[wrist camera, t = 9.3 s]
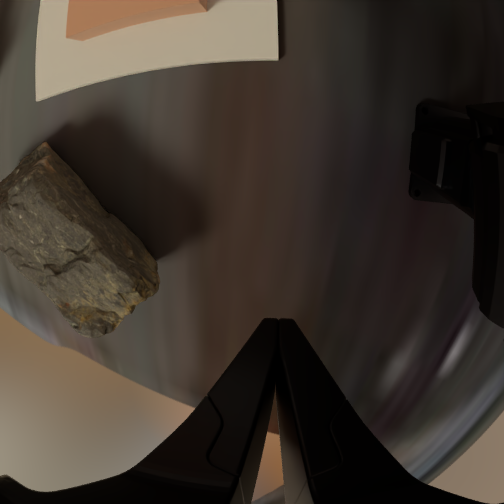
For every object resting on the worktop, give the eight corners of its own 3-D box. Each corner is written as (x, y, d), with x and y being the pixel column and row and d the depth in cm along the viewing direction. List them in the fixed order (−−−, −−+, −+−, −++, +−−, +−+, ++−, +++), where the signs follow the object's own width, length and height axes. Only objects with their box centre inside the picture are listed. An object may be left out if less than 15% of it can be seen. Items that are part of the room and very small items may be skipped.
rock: (185, 236, 16) (122, 365, 18) (197, 216, 22) (144, 319, 24) (-16, 120, 12) (-46, 244, 14) (33, 126, 19) (0, 227, 21)
